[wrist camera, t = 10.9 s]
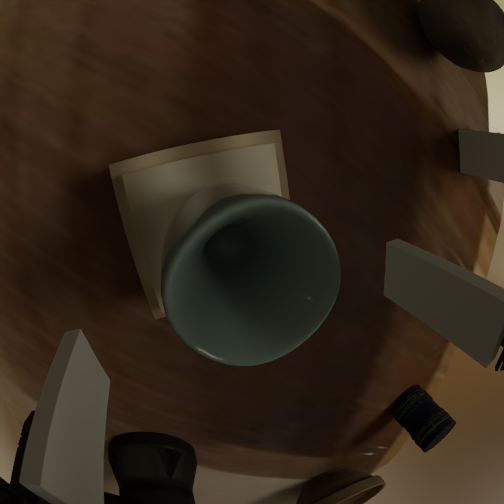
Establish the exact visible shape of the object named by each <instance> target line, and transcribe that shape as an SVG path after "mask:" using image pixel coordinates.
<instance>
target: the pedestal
mask: <svg viewBox="0 0 504 504" xmlns="http://www.w3.org/2000/svg"><path fill="white" fill-rule="evenodd" d="M109 169H110V174H111V178H112V183H113V187H114V191H115V195H116V199H117V203H118V207H119V211H120V215H121V219H122V222H123V226H124V230H125V233H126V236H127V240H128V243H129V246H130V250H131V253H132V256H133V259H134V262H135V265H136V268H137V271H138V274H139V277H140V280H141V283H142V286H143V289H144V292H145V294H146V297H147V300H148V302H149V305H150V308H151V310H152V313H153V315H154V318H155V319H158V318H162V317H166V314H165V311H164V306H163V302H162V298H161V290H160V277H161V259H162V248H163V242H164V238H165V235H166V232H167V229H168V226H169V224H170V222H171V220H172V218H173V217H174V215H175V213H176V212H177V210H178V209H179V208H180V207H181V206H182V205H183V203H184V202H185V201H186V200H188V199H189V198H190V197H191V196H192V195H194V194H195V193H197V192H198V191H200V190H202V189H204V188H206V187H209V186H212V185H215V184H218V183H228V182H234V183H241V184H247V185H252V186H255V187H258V188H261V189H264V190H267V191H269V192H272V193H274V194H277V195H279V196H281V197H284V198H286V199H288V200H290V199H289V191H288V183H287V176H286V169H285V161H284V154H283V147H282V141H281V134H280V130H272V131H264V132H256V133H249V134H242V135H236V136H230V137H224V138H218V139H213V140H207V141H202V142H197V143H192V144H187V145H183V146H178V147H174V148H170V149H165V150H161V151H157V152H153V153H149V154H145V155H142V156H138V157H134V158H131V159H127V160H124V161H120V162H117V163H114V164H110V165H109Z"/></svg>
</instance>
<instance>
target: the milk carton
mask: <svg viewBox="0 0 504 504" xmlns="http://www.w3.org/2000/svg"><path fill="white" fill-rule="evenodd" d="M458 135H459V151H460V172H461V173H464V174H469V175H473V176H478V177H482V178H486V179H490V180H494V181H498V182H502V183H504V134H499V133H491V132H483V131H473V130H462V129H459V130H458Z"/></svg>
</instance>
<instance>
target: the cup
mask: <svg viewBox="0 0 504 504" xmlns="http://www.w3.org/2000/svg"><path fill="white" fill-rule="evenodd" d="M340 276H341V270H340V262H339V256H338V253H337V250H336V248H335V245H334V242H333V241H332V239H331V237H330V236H329V234H328V232H327V231H326V229H325V228H324V227H323V226H322V225H321V224H320V223H319V221H318V220H317V219H316V218H315V217H314V216H313V215H312V214H310V213H309V212H308V211H306V210H305V209H304V208H302V207H301V206H299V205H298V204H296V203H295V202H293V201H290V200H288V199H286V198H284V197H281V196H279V195H277V194H274V193H272V192H269V191H267V190H264V189H261V188H258V187H255V186H252V185H247V184H241V183H234V182H228V183H218V184H215V185H212V186H209V187H206V188H204V189H202V190H200V191H198V192H197V193H195V194H194V195H192V196H191V197H190V198H189V199H188V200H186V201H185V202H184V203H183V205H182V206H181V207H180V208H179V209H178V210H177V212H176V213H175V215H174V217H173V218H172V220H171V222H170V224H169V226H168V229H167V232H166V235H165V238H164V242H163V248H162V259H161V277H160V290H161V298H162V302H163V306H164V311H165V314H166V316H167V318H168V320H169V322H170V324H171V326H172V328H173V330H174V331H175V332H176V333H177V334H178V336H179V337H180V338H181V339H182V340H183V341H184V342H185V343H186V344H187V345H188V346H190V347H191V348H192V349H193V350H195V351H196V352H198V353H200V354H201V355H203V356H205V357H207V358H209V359H211V360H214V361H217V362H220V363H223V364H228V365H235V366H252V365H258V364H262V363H266V362H270V361H272V360H274V359H277V358H279V357H281V356H283V355H285V354H287V353H288V352H290V351H292V350H293V349H295V348H296V347H298V346H299V345H300V344H302V343H303V342H304V341H305V340H306V339H308V338H309V337H310V336H311V335H312V334H313V333H314V332H315V331H316V330H317V329H318V327H319V326H320V325H321V324H322V322H323V321H324V320H325V318H326V317H327V315H328V314H329V312H330V310H331V308H332V306H333V304H334V302H335V300H336V297H337V294H338V291H339V287H340Z"/></svg>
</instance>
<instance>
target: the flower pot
mask: <svg viewBox="0 0 504 504" xmlns="http://www.w3.org/2000/svg"><path fill="white" fill-rule="evenodd" d="M385 485H386V484H385V482H384V480H383V479H382V478H381V477H380V476H372V475H370V474H368V473H365V472H361V471H356V470H351V469H345V468H337V469H334V470H331V471H328V472H326V473H324V474H321V475H319V476H318V477H316V478H314V479H312V480H311V481H309V482H308V483H306V484H305V485H304V487H303V488H302V492H301V493H300V495H299V497H298V500H297V503H296V504H364V503H365V502H367V501H368V500H370V499H371V498H372V497H374V496H375V495H376V494H377V493H379V492H380V491H381V490H382V489H383V488H384V486H385Z"/></svg>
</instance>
